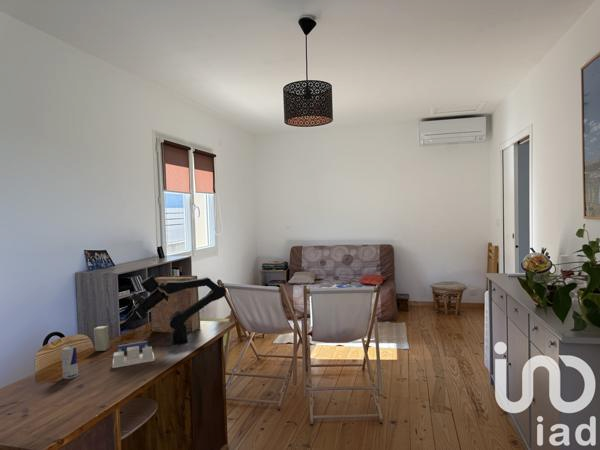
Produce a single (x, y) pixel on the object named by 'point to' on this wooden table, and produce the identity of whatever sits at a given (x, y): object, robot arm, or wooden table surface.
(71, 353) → the energy drink
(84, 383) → the wooden table surface
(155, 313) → the book
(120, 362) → the display stand
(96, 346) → the box
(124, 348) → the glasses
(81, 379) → the wooden table surface
